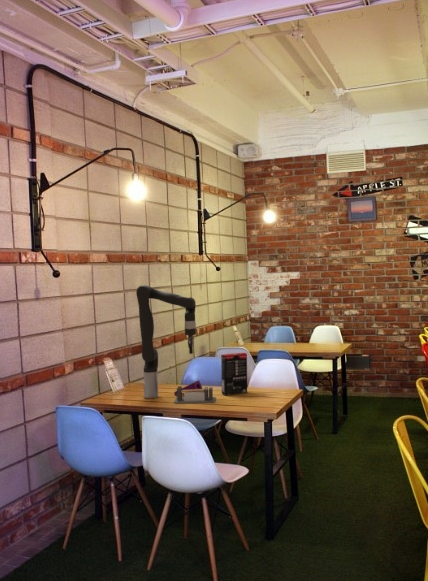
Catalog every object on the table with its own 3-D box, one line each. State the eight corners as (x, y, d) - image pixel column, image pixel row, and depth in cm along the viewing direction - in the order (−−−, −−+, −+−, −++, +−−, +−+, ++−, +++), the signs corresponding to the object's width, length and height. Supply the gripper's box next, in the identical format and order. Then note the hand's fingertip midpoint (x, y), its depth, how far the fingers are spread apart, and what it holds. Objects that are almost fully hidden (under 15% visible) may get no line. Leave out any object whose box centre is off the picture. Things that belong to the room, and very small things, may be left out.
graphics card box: (243, 391, 395) (242, 351, 394) (248, 393, 389) (247, 353, 388) (221, 394, 388) (220, 354, 387) (226, 396, 382) (224, 355, 381)
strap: (178, 392, 369) (178, 389, 369) (178, 391, 373) (178, 388, 373) (207, 391, 368) (207, 387, 368) (208, 389, 371) (207, 386, 371)
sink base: (173, 403, 365) (173, 389, 364) (176, 399, 378) (176, 385, 377) (214, 403, 363) (214, 388, 363) (215, 398, 376) (215, 384, 376)
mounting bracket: (177, 404, 388) (199, 394, 381) (171, 393, 389) (193, 382, 383) (182, 401, 396) (204, 391, 390) (177, 390, 397) (198, 380, 391)
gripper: (185, 326, 388) (186, 352, 388) (183, 328, 375) (184, 355, 375) (196, 326, 387) (197, 352, 388) (194, 328, 374) (195, 355, 375)
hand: (191, 353), depth 382 cm, fingers closed
